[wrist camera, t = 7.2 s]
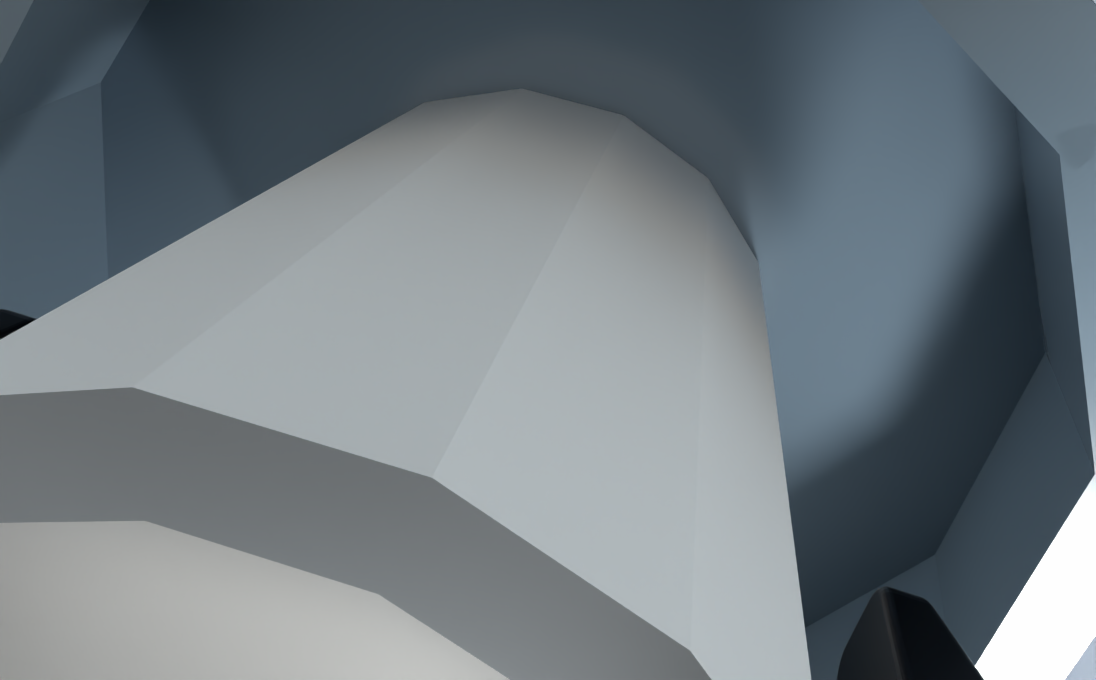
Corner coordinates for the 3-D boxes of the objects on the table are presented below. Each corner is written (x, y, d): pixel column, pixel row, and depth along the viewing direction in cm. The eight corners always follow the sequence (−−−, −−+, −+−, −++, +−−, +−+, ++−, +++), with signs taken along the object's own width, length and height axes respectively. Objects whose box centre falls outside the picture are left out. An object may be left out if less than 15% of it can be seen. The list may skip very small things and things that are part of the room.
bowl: (856, 767, 15) (864, 965, 12) (104, 514, 16) (-29, 648, 14) (1373, -128, 9) (1606, -94, 6) (60, -428, 10) (-205, -506, 7)
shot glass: (207, 409, 14) (-258, 911, 8) (337, -90, 10) (-363, 124, 4) (660, 624, 14) (551, 1284, 8) (957, 209, 10) (1185, 859, 4)
